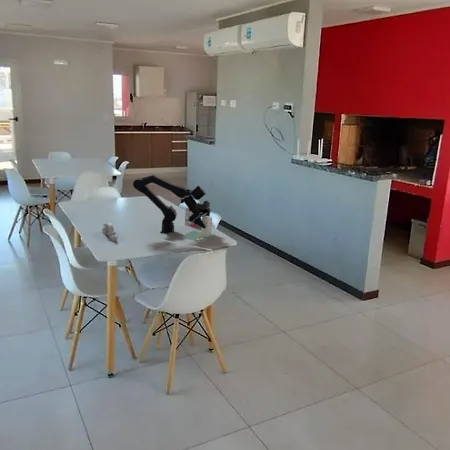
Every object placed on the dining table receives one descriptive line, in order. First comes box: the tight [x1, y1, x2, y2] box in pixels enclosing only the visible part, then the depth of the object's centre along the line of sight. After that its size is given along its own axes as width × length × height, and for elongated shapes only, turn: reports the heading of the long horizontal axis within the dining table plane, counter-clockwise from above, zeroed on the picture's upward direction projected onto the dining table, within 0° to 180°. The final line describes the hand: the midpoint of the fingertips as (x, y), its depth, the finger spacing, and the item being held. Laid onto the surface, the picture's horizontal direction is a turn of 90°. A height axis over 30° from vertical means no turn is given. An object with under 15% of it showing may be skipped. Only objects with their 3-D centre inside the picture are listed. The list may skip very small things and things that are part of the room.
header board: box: [179, 230, 216, 243], centre depth 269 cm, size 15×17×3 cm
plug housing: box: [200, 216, 213, 237], centre depth 270 cm, size 4×6×11 cm, turn 157°
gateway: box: [101, 222, 118, 242], centre depth 260 cm, size 20×2×8 cm, turn 31°
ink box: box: [184, 206, 200, 227], centre depth 292 cm, size 8×5×12 cm, turn 55°
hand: (208, 226), depth 269 cm, fingers open, 9 cm apart
